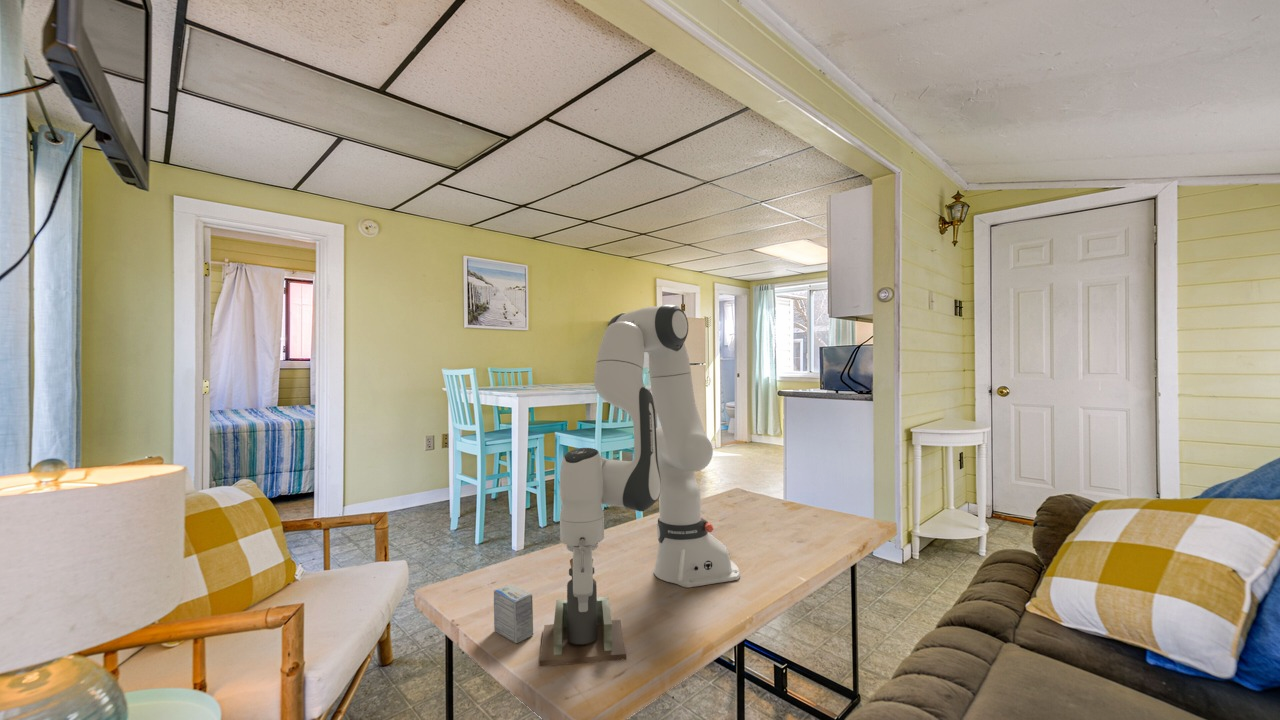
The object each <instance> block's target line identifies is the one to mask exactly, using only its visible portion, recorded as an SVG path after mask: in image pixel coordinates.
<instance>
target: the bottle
mask: <svg viewBox="0 0 1280 720" xmlns="http://www.w3.org/2000/svg"><path fill="white" fill-rule="evenodd" d="M592 563H594V558H593V557H592ZM569 564H570V567H569V569H568V576H570V577H571V579H570V580H569V581H568V582H567V585H566V600H567V632H568V641H569V642H570V643H572V644H579V645H580V644H588V643H591V642H593V641H595V640H596V639H597V597H598V593H597V581H596V579H595V578H593V593H592V595H591V596H589V597H588V611H586V612H579V608H578V597H575V596H574V595H573V557H572V558H571V559H569ZM581 572H582V571H581ZM594 574H595V567H593V575H594Z"/></svg>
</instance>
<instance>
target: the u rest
mask: <svg viewBox="0 0 1280 720" xmlns="http://www.w3.org/2000/svg"><path fill="white" fill-rule="evenodd" d="M624 639H625V637H624V633H623V627H622V621H621V619H612V613H611V606H610V597H609V596H599V597H598V596H597V639H596V640H595V641H593V642H591V643H588V644H580V645H579V644H572V643H570V642H569V641H568V632H567V599H557V600H556V601H555V611H554V620H553V623H552V624H544V626H543V633H542V639H541V640H542V641H541V642H542V643H541V648H540V655H539V667H544V666H545V667H548V666H560V665H573V664H583V663H584V664H585V663H596V662H598V663H599V662H607V661H608V662H609V661H621V660H622V659H623V660H627V651H626V645H625V640H624Z"/></svg>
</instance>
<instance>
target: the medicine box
mask: <svg viewBox="0 0 1280 720" xmlns="http://www.w3.org/2000/svg"><path fill="white" fill-rule="evenodd" d="M533 605H534V604H533V594H532V593H531V592H529V591H527V590H524V589H523V588H521V587H519V586H516V585H515V584H512V583H510V584H509V583H508V584H507V585H504V586H501V587H499V588H497V589H495V590H493V620H494V621H493V622H494V623H493V626H494V629H493V630H494V631H495V632H496V633H498V634H499V635H500V636H503V637H505V638H506V639H508V640H509V641H510V642H513V643H514V644H518V643H521V642H523V641H524V640H526V639H528V638H530V637H533V636H534V608H533Z"/></svg>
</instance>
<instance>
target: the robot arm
mask: <svg viewBox="0 0 1280 720" xmlns="http://www.w3.org/2000/svg"><path fill="white" fill-rule="evenodd" d="M688 334H689V321H688V318H687V314H686V313H685V312H684V311H683V310H682V308H681V307H679V306H677V305H674V304H661V306H660V305H659V306H658V305H656V306H646V307H642V308H639V309H636V310H632V311H628V312H622V313H620V314H617V315H615V316H614V317H612V318H611V319H610V321H609V322H608V325H607V327H606V328H605V330H604V333H603V336H602V339H601V342H600V345H599V347H598V351H597V356H596V363H595V369H594V376H593V382H594V383H593V385H594V388H595V390H596V392H597V394H598V395H599V396H600V398H601V399H602V400H604V401H605V402H606V403H608V404H610V405H611V406H613V407H616V408H618V409H620V410H622V411H624V412H626V413H627V414H628V415H629V416H630V418H631V420H632V424H633V449H634V452H633V453H634V455H633V456H634V457H633V458H632V460H619V459H611V458H605V457H602V456H601V454H600V451H599V450H598V449H596V448H592V447H580V448H575V449H571V450H569V451H568V452H567V453H565V454H564V455H563V457H562V460H561V465H560V474H559V497H560V501H561V510H560V513H559V539H560V542H561V543H562V544H564V545H566V549H567V550H568V551H569V552H571V553H572V558H573V595H574V596H575V597H578V608H579V612H586V611H588V597H589V596H591V595H592V593H593V579H594V576H593V575H594V574H593V563H594V562H593V563H592V558H593V551H594V550H596V549H598V548H599V543H601V542H602V541H603V540H604V539H605V522H604V521H605V517H604V515H605V513H604V509H603V505H605V506H611V507H612V506H613V507H619V508H620V507H621V508H625V509H629V510H633V511H637V512H640V513H641V512H644V511H647V510H648V509H649V508H650V507H652V506H653V505H654V504H655V503H656V502H657V501H658V512H659V513H658V514H659V516H658V518H657V531H656V532H657V540H658V546H657V555H656V562H655V566H654V569H653V574H654V575H655V576H656V577H657V578H658V579H660V580H661V581H664V582H668V583H671V584H676V585H679V586H680V587H683V588H694V587H701V586H706V585H712V584H719V583H726V582H731V581H737V580H739V579H740V576H741V571H740V568H739V567H738V565H737V564H736V563H735V562H734V561H733V560H731V558H730V557H731V556H730V553H729V550H728V548H727V547H726V545H724V543H722V541H720V540H718V539H717V538H716V537H715V536H714V535H712V534H711V533H712V532H713V531H714V526H713V524H712V523H711V522H708V520H706V519H704V517H702V513H701V512H702V510H701V507H702V506H701V488H700V485H699V483H698V481H697V479H696V474H695V472H699V471H702V470H704V469H705V468H707V466H708V465H709V464H710V463H711V461H712V457H713V454H714V453H713V452H714V450H713V445H712V442H711V440H710V438H708V436H707V434H706V432H705V430H704V426H703V423H702V421H701V417H700V414H699V411H698V407H697V404H696V400H695V392H694V385H693V378H692V377H693V376H692V371H691V370H692V369H691V363H690V358H689V355H688V354H689V353H688V350H687V348H686V347H687V346H686V344H685V341H686V339H687V337H688ZM645 353H647V354H648V373H649V380H650V381H649V382H650V389H651V391H650V390H649V389H648V388H646V386H645V384H644V380H643V379H644V377H643V375H644V374H643V371H644V363H645ZM656 414H657V418H658V420H659V423H660V425H659V426H657V423H656V421H657V420H656ZM581 571H582V572H581Z"/></svg>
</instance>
